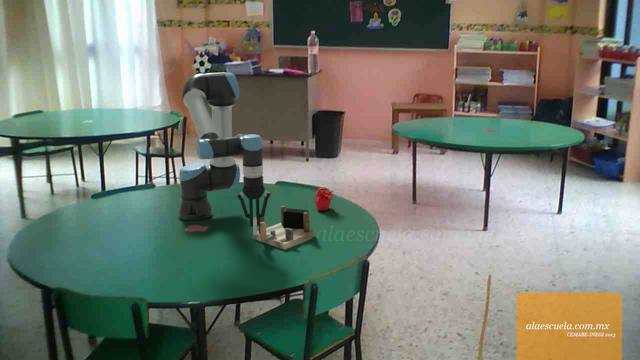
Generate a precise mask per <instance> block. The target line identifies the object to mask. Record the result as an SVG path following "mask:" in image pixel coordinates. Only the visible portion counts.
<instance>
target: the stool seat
mask: <svg viewBox="0 0 640 360" xmlns="http://www.w3.org/2000/svg"><path fill="white" fill-rule="evenodd" d="M287 208H288V207H287V205H281V206H280V220H281V221H280V222H279V223H277V224H276V223H275V224H274V225H271V226H269V227H266V235H268V234H270V231H271V230H275V234H276V237H274V238H272V239H270V240H269V241H267V242H263V241H261V239H260V226H258V230H257V235H254V234H252V235H253V237H252V238H253V240H256V241H257V242H258V241H259V242H261V243H264V244H267V245H269V246H272V247H276V248H278V249H280V250H284V251H285V250H287V249H290V248H293V247H295V246H297V245H300V244H302V243H304V242H307V241H309V240H312V239H314V238H316V231H315V230H314V229H313V230H312V229H310V226H311V225H310V211H309V212H304V213H303V214H304V229H289V228H283V213H284V210H285V209H287ZM260 222H265V216H264V217H261V218H260ZM313 237H314V238H313Z"/></svg>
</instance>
